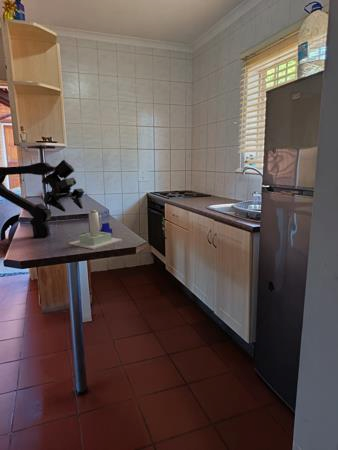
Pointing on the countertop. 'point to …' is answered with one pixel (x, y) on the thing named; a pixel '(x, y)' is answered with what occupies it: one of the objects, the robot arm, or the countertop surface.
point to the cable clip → (104, 228)
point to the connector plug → (94, 224)
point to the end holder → (95, 241)
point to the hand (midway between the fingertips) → (73, 209)
